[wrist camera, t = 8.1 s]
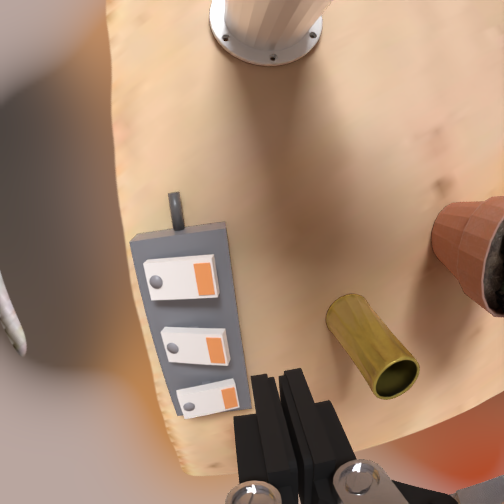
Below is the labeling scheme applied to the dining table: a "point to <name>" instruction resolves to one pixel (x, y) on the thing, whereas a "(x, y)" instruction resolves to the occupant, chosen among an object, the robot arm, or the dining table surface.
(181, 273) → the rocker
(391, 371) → the vase
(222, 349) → the rocker mid
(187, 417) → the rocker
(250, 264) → the dining table surface
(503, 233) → the potted plant
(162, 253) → the power strip
